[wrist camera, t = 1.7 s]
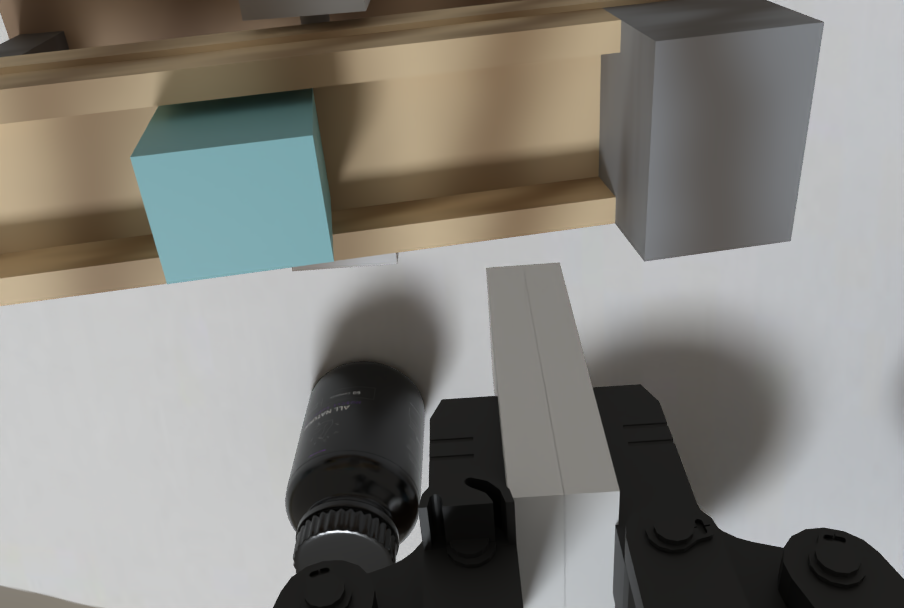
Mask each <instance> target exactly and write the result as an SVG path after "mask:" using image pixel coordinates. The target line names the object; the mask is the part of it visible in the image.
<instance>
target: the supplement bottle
mask: <svg viewBox="0 0 904 608" xmlns="http://www.w3.org/2000/svg"><path fill="white" fill-rule="evenodd" d="M424 420H425V410H424V403H423V399H422V397H421V394H420V392H419V390H418V389H417V387H416V386H415V384H414V383H413V382H412V381H411V380H410V379H409V378H408V377H407V376H405V375H404V374H403V373H401V372H400V371H398V370H396V369H394V368H392V367H389V366H387V365H384V364H380V363H374V362H354V363H349V364H345V365H342V366H339V367H337V368H335V369H333V370H331V371H330V372H328V373H327V374H326V375H324V376H323V377H322V378H321V379H320V380H319V382H318V383H317V384H316V386H315V387H314V389H313V391H312V394H311V396H310V399H309V403H308V406H307V410H306V414H305V418H304V422H303V426H302V430H301V434H300V438H299V442H298V446H297V450H296V454H295V458H294V462H293V466H292V470H291V474H290V478H289V482H288V486H287V491H286V498H285V506H286V512H287V515H288V518H289V521H290V523H291V525H292V527H293V528H294V530H295V531H296V544H295V549H294V554H293V560H294V567H295V569H296V573H298V572H300V571H301V570H303V569H304V568H305V567H307V566H310V565H313V564H316V563H319V562H322V561H329V560H344V561H347V562H350V563H353V564H356V565H359V566H360V567H361V568H362V569H363V570H364V571H365V572H367V573H370V572H373V571H376V570H379V569H382V568H385V567H388V566H390V565H392V564H395V563H396V555H397V552H398V548H399V545H400V544H401V543H402V542H403V541H404V540H405V539H406V538H407V537H408V536H409V534H410V533H411V532H412V530H413V528H414V527H415V525H416V522H417V519H418V516H419V511H418V507H419V503H420V498H421V480H422V461H423V442H424Z"/></svg>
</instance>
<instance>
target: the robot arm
mask: <svg viewBox="0 0 904 608" xmlns="http://www.w3.org/2000/svg"><path fill="white" fill-rule="evenodd" d="M486 273H487V289H488V305H489V322H490V338H491V355H492V371H493V384H494V394H495V396H488V397H473V398H458V399H443V400H441V402H440V404H439V405H438V407H437V409H436V410H435V412H434V413H433V415H432V417H431V418H430V454H429V457H430V461H429V487H428V489H427V490H426V491H425V492H424V493H423V494H422V496H421V500H420V503H419V507H418V511H419V519H420V527H421V534H422V542H421V544H420V545H419V546H418V547H417V548H416V549H415V550H414V551H413V552H412V553H411V554H410V555H408V556H407V557H406V558H404V559H403V560H401V561H399V562H397V563H395V564H392V565H390V566H388V567H385V568H382V569H379V570H376V571H373V572H370V573H367V572H365V571H364V570H363V569H362V568H361V567H360V566H359V565H356V564H353V563H350V562H347V561H344V560H329V561H322V562H319V563H316V564H313V565H310V566H307V567H305V568H304V569H303V570H301V571H300V572H298V573H297V574H296V575H294V576H293V577H291V579H290V580H289V581H288V583H287V584H286V585H285V587H284V588H283V589H282V591H281V592H280V595H279V597H278V599H277V601H276V603H275V605H274V607H273V608H615V606H616V608H904V579H903V578H902V577H901V576H900V574H899V573H898V572H897V571H896V570H895V569H894V568H893V567H892V566H891V565H890V564H889V563H888V562H887V560H886V559H885V558H884V557H883V556H882V555H881V554H880V553H879V552H878V551H876V550H875V549H874V548H873V547H872V546H870V545H869V544H868V543H867V542H865V541H864V540H862V539H860V538H858V537H855V536H853V535H851V534H849V533H847V532H844V531H839V530H834V529H828V528H815V529H805V530H803V531H801V532H799V533H797V534H795V535H793V536H791V538H790V539H789V541H788V542H787V544H786V545H785V546H784V548H781V547H776V546H771V545H765V544H760V543H755V542H750V541H747V540H743V539H740V538H736V537H734V536H732V535H730V534H728V533H726V532H723V531H722V530H720V529H719V528H718V527H717V526H716V524H715V523H714V521H713V520H712V518H711V517H709V516H708V515H706V514H705V513H704V512H702V511H701V510H700V509H699V507H698V505H697V503H696V500H695V497H694V495H693V492H692V489H691V487H690V484H689V481H688V479H687V476H686V473H685V470H684V468H683V465H682V462H681V460H680V457H679V454H678V452H677V449H676V446H675V443H673V438H672V435H671V433H670V430H669V427H668V426H667V422H666V419H665V416H664V414H663V411H662V408H661V406H660V403H659V401H658V400H657V399H656V398H655V397H653V396H652V395H651V394H650V393H649V392H648V391H647V390H646V389H645V388H644V387H643V386H642V385H641V384H639V385H625V386H610V387H595V388H592V384H591V380H590V376H589V372H588V369H587V365H586V361H585V357H584V353H583V350H582V346H581V342H580V338H579V334H578V331H577V327H576V323H575V319H574V316H573V312H572V308H571V304H570V300H569V297H568V293H567V289H566V285H565V281H564V278H563V274H562V270H561V266H560V263H547V264H533V265H519V266H505V267H492V268H486Z"/></svg>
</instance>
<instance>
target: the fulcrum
mask: <svg viewBox="0 0 904 608" xmlns="http://www.w3.org/2000/svg"><path fill="white" fill-rule="evenodd" d="M513 1H522V0H0V13H1V16H2V19H3V22H4V25H5V27H6V30H7V33H8V36H9V39H10V40H8V41H6V42H4V43H2V44H0V57H7V56H17V55H26V54H35V53H44V52H53V51H63V50H72V49H81V48H90V47H99V46H109V45H118V44H127V43H136V42H145V41H155V40H164V39H173V38H182V37H191V36H201V35H210V34H219V33H228V32H237V31H247V30H256V29H265V28H274V27H283V26H293V25H302V24H311V23H320V22H329V21H339V20H348V19H357V18H366V17H375V16H385V15H394V14H403V13H412V12H421V11H430V10H440V9H449V8H458V7H467V6H476V5H486V4H495V3H504V2H513ZM397 262H398V253H390V254H383V255H375V256H368V257H361V258H353V259H346V260H338V261H334V262H327V263H319V264H312V265H305V266H297V267H292V271H302V270H316V269H330V268H344V267H358V266H373V265H387V264H397Z"/></svg>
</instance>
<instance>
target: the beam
mask: <svg viewBox="0 0 904 608" xmlns="http://www.w3.org/2000/svg"><path fill="white" fill-rule="evenodd" d="M823 26H824V22H822V21H820V20H817V19H815V18H812V17H809V16H807V15H804V14H801V13H799V12H796V11H793V10H791V9H788V8H785V7H783V6H780V5H777V4H775V3H772V2H770V1H767V0H522V1H513V2H504V3H495V4H486V5H476V6H467V7H458V8H449V9H440V10H430V11H421V12H412V13H403V14H394V15H385V16H375V17H366V18H357V19H348V20H339V21H329V22H320V23H311V24H302V25H293V26H283V27H274V28H265V29H256V30H247V31H237V32H228V33H219V34H210V35H201V36H191V37H182V38H173V39H164V40H155V41H145V42H136V43H127V44H118V45H109V46H99V47H90V48H81V49H72V50H63V51H53V52H44V53H35V54H26V55H17V56H7V57H0V306H5V305H12V304H19V303H27V302H34V301H42V300H49V299H57V298H64V297H71V296H79V295H86V294H94V293H101V292H108V291H116V290H123V289H131V288H138V287H146V286H153V285H160V284H167V282H166V279H165V275H164V272H163V269H162V265H161V262H160V258H159V255H158V251H157V248H156V245H155V241H154V238H153V234H152V231H151V227H150V224H149V221H148V217H147V214H146V210H145V207H144V203H143V200H142V197H141V193H140V190H139V186H138V183H137V179H136V176H135V173H134V169H133V166H132V162H131V159H130V157H131V155H132V153H133V151H134V149H135V148H136V146H137V144H138V142H139V140H140V138H141V137H142V135H143V133H144V131H145V129H146V128H147V126H148V124H149V122H150V120H151V118H152V117H153V115H154V113H155V111H156V109H157V108H158V106H162V105H171V104H179V103H188V102H197V101H205V100H214V99H223V98H231V97H240V96H248V95H257V94H266V93H274V92H283V91H292V90H300V89H309V88H313V93H314V100H315V106H316V112H317V118H318V124H319V130H320V136H321V142H322V148H323V155H324V161H325V167H326V173H327V179H328V185H329V191H330V197H331V215H332V234H333V253H334V261H338V260H346V259H353V258H361V257H368V256H375V255H383V254H390V253H398V252H405V251H413V250H420V249H427V248H435V247H442V246H450V245H457V244H464V243H472V242H479V241H487V240H494V239H502V238H509V237H516V236H524V235H531V234H539V233H546V232H553V231H561V230H568V229H576V228H583V227H591V226H598V225H605V224H613V223H615V224H616V225H617V226H618V228H619V229H620V230H621V232H622V233H623V234H624V235H625V237H626V238H627V239H628V241H629V242H630V243H631V245H632V246H633V247H634V248H635V250H636V251H637V252H638V254H639V255H640V256H641V258H642V259H643V260H644V261H651V260H658V259H665V258H672V257H679V256H686V255H694V254H701V253H708V252H715V251H722V250H729V249H737V248H744V247H751V246H758V245H765V244H772V243H780V242H787V241H791V235H792V228H793V222H794V215H795V209H796V202H797V196H798V189H799V183H800V176H801V170H802V163H803V156H804V150H805V143H806V137H807V130H808V124H809V117H810V111H811V104H812V98H813V91H814V85H815V78H816V72H817V65H818V58H819V52H820V45H821V39H822V32H823Z"/></svg>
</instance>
